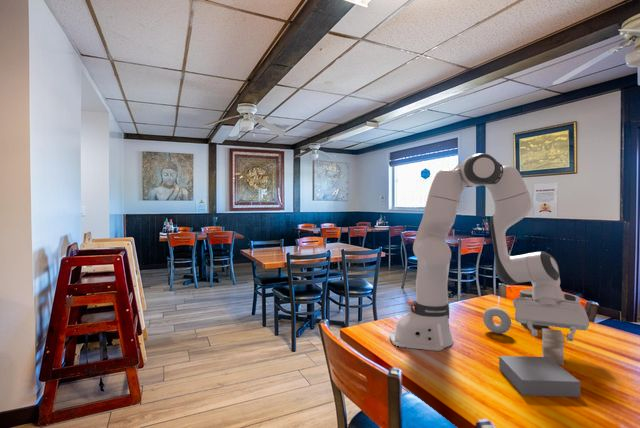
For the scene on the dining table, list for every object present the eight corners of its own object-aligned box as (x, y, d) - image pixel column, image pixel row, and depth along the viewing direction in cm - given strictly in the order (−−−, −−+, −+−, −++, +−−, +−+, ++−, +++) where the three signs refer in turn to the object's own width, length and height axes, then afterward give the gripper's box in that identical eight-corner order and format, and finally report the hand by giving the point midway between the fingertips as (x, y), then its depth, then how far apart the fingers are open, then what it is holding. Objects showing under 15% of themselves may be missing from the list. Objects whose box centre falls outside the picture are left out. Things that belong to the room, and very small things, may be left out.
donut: (512, 335, 125) (512, 308, 125) (510, 337, 123) (509, 311, 123) (484, 328, 132) (484, 303, 132) (481, 331, 130) (481, 305, 130)
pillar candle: (553, 330, 129) (553, 291, 129) (526, 329, 131) (526, 291, 130) (541, 321, 139) (540, 286, 139) (516, 321, 140) (515, 285, 140)
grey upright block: (544, 361, 104) (543, 333, 104) (542, 355, 108) (542, 328, 108) (563, 364, 102) (563, 335, 101) (561, 358, 106) (560, 330, 106)
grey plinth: (522, 395, 86) (522, 380, 86) (499, 368, 100) (499, 355, 100) (580, 397, 85) (580, 381, 85) (548, 370, 99) (548, 356, 98)
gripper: (513, 292, 117) (514, 328, 109) (585, 297, 108) (593, 338, 99) (512, 301, 121) (514, 337, 113) (582, 307, 112) (590, 347, 103)
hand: (552, 337), depth 106 cm, fingers open, 8 cm apart
